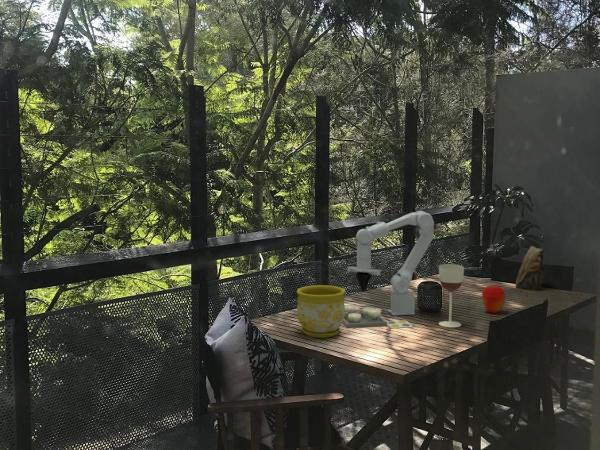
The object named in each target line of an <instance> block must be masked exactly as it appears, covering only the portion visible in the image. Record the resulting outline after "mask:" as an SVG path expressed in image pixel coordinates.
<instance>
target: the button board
mask: <svg viewBox="0 0 600 450" xmlns="http://www.w3.org/2000/svg"><path fill="white" fill-rule="evenodd" d="M357 313H358V314H361V321H356V322H354V321H349V320H348V313H347V312H345V315H344V320H343V322H342V324H343V326H345V328H346V329H359V328H377V327H379V328H380V327H381V328H382V327H388V325H387V322H386V320H385V319H384V318H383V317H382V315H381V316H379V317H376V319H373V317H371V316H368V315H364V314H363V311H362V312H357Z"/></svg>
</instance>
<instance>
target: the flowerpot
mask: <svg viewBox="0 0 600 450" xmlns="http://www.w3.org/2000/svg"><path fill="white" fill-rule="evenodd" d="M344 289H345V288H344ZM344 289H343V287H339V286H336V285H327V284H325V285H323V284H317V285H315V284H313V285H307V286H302V287H300V288H297V290H296V294H297V295H298V296H297V308H296V309H297V310H296V313H297V319H298V322H299V323H300V325H301V327H302V328H301V331H302V332H303V333H304V334H305V335H306V336H308V337H312V338H323V339H324V338H330V337H335V336H336V335H338V333H339V332H340V331H341V328H340V326H341V325H342V324H343V323H342V322H343V320H344V315H345V313H346V312H345V306H344V305H345V299H344V294H345V295H346V291H345V290H344Z"/></svg>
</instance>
